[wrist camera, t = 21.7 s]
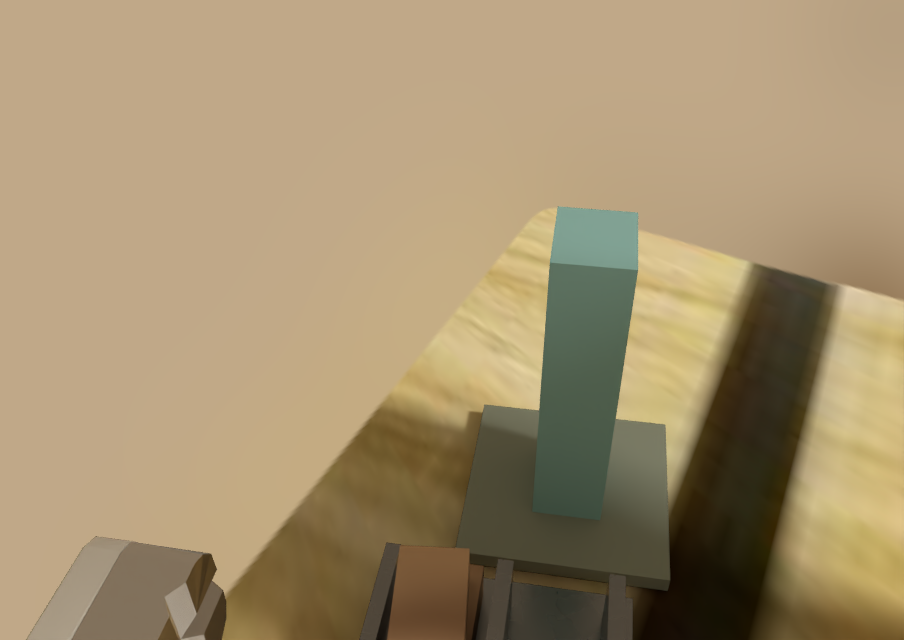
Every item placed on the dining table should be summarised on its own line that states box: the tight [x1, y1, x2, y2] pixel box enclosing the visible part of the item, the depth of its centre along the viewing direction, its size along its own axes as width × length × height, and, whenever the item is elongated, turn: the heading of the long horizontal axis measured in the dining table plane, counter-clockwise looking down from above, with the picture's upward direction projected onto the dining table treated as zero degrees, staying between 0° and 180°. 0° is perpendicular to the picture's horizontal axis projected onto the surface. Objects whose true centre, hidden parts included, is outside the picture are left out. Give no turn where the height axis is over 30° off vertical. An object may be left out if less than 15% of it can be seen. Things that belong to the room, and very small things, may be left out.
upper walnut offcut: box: [387, 545, 470, 640], centre depth 41 cm, size 7×4×2 cm, turn 176°
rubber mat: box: [456, 405, 670, 591], centre depth 53 cm, size 12×12×1 cm
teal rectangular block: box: [532, 207, 638, 520], centre depth 47 cm, size 5×4×18 cm
